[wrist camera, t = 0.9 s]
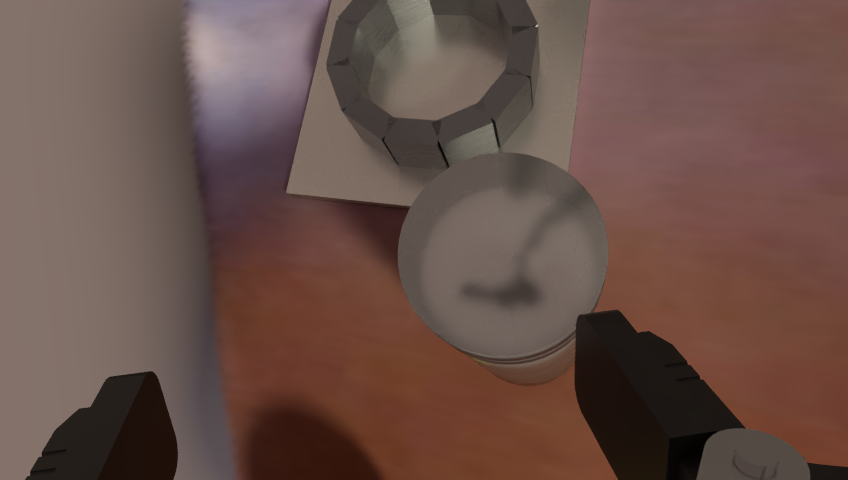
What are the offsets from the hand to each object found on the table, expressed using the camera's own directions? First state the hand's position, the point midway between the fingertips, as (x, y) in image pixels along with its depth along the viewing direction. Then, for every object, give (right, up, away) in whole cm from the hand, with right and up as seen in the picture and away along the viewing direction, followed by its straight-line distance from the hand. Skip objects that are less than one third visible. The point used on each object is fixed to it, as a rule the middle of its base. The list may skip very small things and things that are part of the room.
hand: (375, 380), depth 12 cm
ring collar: (+2, +11, +21) cm, 24 cm away
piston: (+6, -1, +17) cm, 18 cm away
